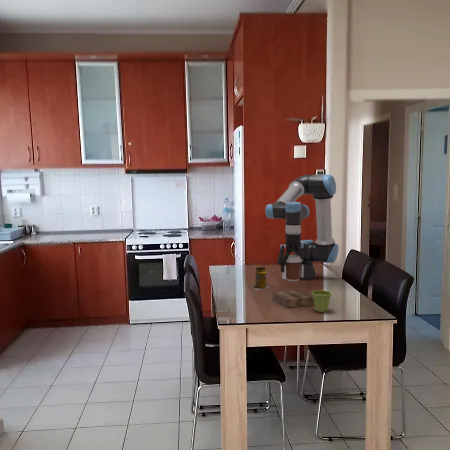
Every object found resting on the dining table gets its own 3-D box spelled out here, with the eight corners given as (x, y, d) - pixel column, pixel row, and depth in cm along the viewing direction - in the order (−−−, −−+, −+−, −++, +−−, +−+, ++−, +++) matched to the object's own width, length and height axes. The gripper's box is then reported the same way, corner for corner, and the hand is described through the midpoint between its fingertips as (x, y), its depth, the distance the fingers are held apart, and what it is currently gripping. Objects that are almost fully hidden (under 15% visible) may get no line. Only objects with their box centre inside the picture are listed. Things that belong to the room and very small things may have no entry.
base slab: (298, 297, 240) (298, 289, 240) (313, 304, 226) (313, 296, 226) (272, 300, 235) (272, 292, 235) (286, 308, 221) (286, 300, 221)
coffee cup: (288, 282, 224) (288, 258, 222) (280, 278, 232) (281, 255, 231) (305, 281, 226) (305, 257, 225) (297, 277, 235) (297, 254, 234)
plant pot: (308, 308, 221) (309, 290, 220) (327, 307, 222) (328, 289, 221) (314, 313, 212) (314, 295, 211) (334, 313, 213) (334, 294, 212)
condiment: (269, 287, 261) (269, 267, 259) (257, 290, 256) (257, 269, 255) (261, 285, 267) (261, 265, 265) (249, 287, 262) (249, 266, 261)
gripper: (308, 231, 234) (308, 274, 236) (270, 233, 227) (269, 278, 229) (316, 233, 227) (315, 277, 229) (276, 235, 219) (276, 281, 222)
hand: (292, 277), depth 229 cm, fingers closed on coffee cup, 9 cm apart
